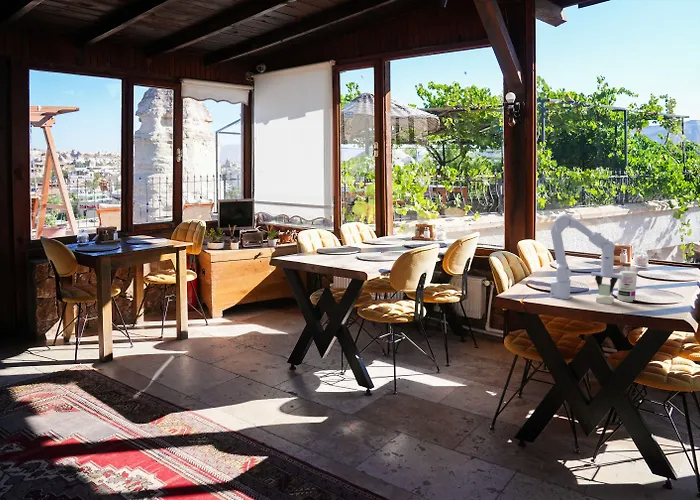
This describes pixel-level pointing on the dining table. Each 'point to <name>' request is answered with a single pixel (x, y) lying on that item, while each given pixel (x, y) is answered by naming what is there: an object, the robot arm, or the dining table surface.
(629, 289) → the supplement can
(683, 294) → the dining table surface
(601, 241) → the robot arm
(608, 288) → the green cube
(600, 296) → the cream box
